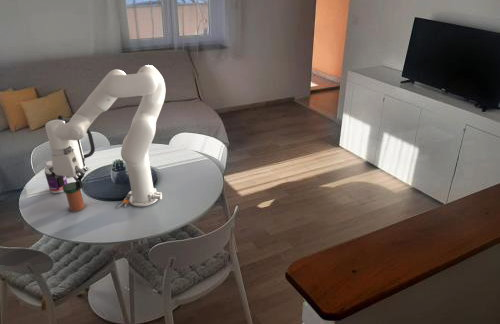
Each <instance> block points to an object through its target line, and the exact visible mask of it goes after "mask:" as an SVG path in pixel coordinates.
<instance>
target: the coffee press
mask: <svg viewBox="0 0 500 324" xmlns="http://www.w3.org/2000/svg"><path fill="white" fill-rule="evenodd" d="M70 119H71V118H69V117H64V116H63V115H62V114H59V115H58V116H57V119H56V120H63V121H64V122H65V123H68V122H69V121H70ZM86 134H87V137H88V143H89V146H90V150H89V152H88V153H86V154H84V152H83V148H82V143H81V139H80V140H70V144H71V148H72V149H74V151H73V152H74V153H75V155H76V157H77V159H78V162H79V165H80V169H82V170H83V171H85V172H88V170H89V167H88V166H87V165H86V159H87V158H90V157H91V156H93V155H94V153H95V151H96V147H95V142H94V137H93V134H92V132H91V130H90V129H88V130H87V132H86ZM66 178H68V177H67V176H66Z"/></svg>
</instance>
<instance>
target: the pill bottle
mask: <svg viewBox="0 0 500 324" xmlns="http://www.w3.org/2000/svg"><path fill="white" fill-rule="evenodd" d="M51 167H52V159H51V160H48V161H46V162H45V168H44V175H45V178H46V181H47V185H48V188H49V191H50V192H51V193H53V194H60V193H65V192H64V191H63V186H64V185H63V186H62V187H61V188H59V187H58V183H57V179H55V177H54V176H53V175H52V173H51V172H50V171H49V168H51ZM63 180H64V184H65V185H66V184H68V183H69V182H68V180H67V177H66V176H63Z"/></svg>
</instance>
